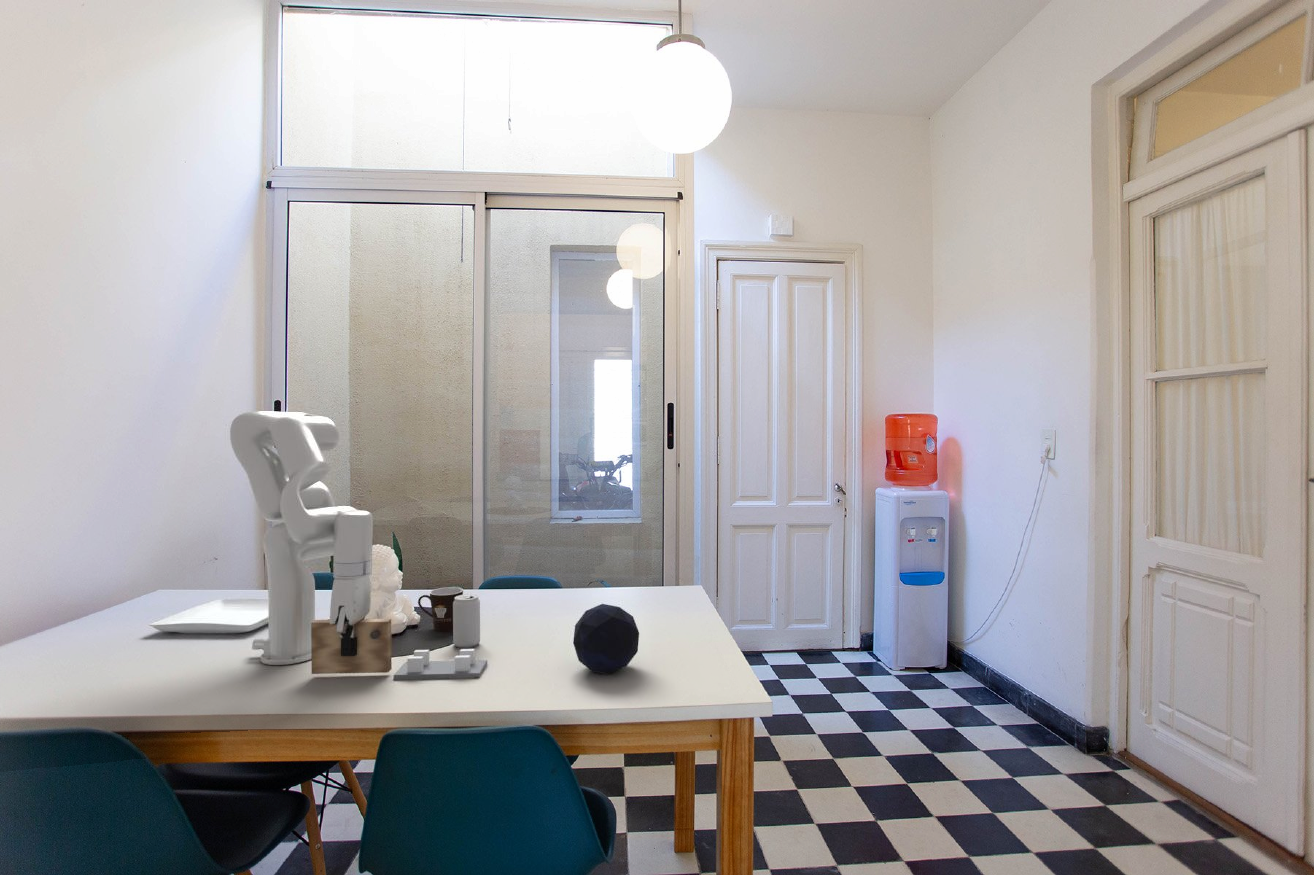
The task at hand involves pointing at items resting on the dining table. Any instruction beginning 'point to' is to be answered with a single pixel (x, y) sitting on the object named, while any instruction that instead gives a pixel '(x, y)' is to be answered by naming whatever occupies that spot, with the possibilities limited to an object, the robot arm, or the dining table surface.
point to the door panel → (369, 648)
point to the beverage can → (466, 621)
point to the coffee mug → (442, 607)
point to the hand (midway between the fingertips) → (351, 652)
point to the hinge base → (441, 666)
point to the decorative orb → (606, 639)
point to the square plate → (218, 617)
